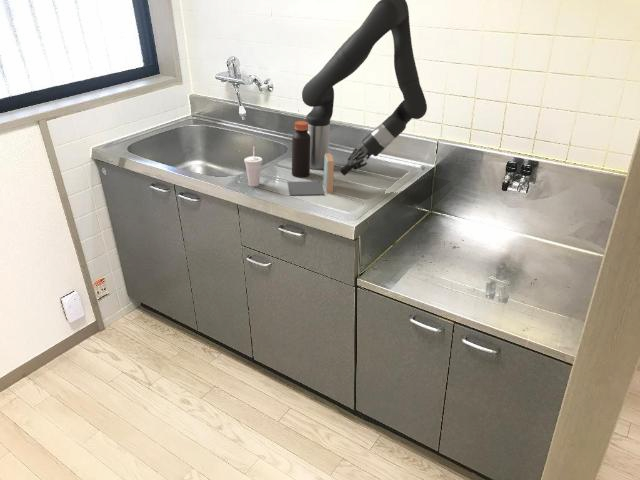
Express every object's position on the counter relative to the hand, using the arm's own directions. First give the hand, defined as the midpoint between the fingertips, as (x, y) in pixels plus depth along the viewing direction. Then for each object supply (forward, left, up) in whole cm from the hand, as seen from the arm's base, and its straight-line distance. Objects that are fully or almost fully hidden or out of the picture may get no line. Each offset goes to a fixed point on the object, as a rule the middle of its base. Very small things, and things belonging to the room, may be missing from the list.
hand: (342, 173), depth 191 cm
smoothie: (-27, -17, -6) cm, 32 cm away
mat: (-10, -9, -6) cm, 14 cm away
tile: (-4, -3, -6) cm, 8 cm away
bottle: (-20, +2, -6) cm, 21 cm away
